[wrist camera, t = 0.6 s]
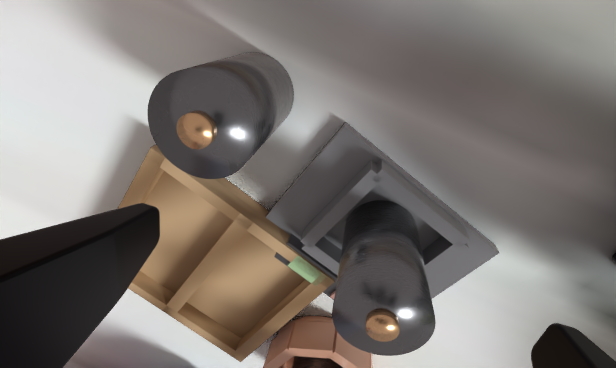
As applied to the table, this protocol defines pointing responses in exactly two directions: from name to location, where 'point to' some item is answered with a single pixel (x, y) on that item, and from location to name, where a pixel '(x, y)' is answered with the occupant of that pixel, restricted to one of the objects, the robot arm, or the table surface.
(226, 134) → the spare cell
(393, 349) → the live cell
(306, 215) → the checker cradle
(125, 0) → the table surface
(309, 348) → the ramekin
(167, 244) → the trough board
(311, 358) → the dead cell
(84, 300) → the robot arm
